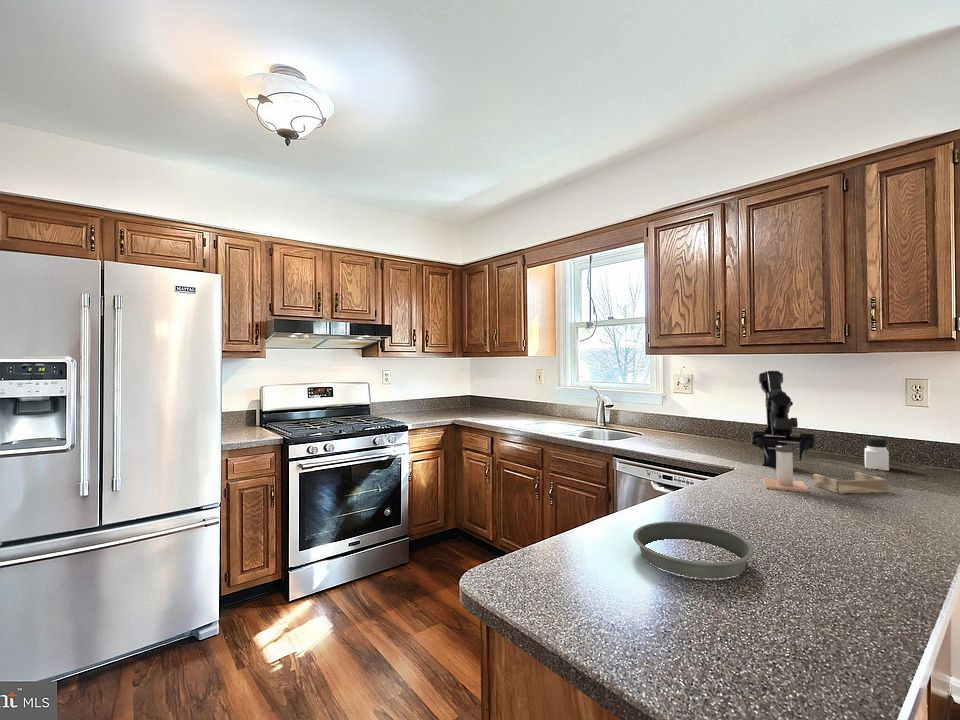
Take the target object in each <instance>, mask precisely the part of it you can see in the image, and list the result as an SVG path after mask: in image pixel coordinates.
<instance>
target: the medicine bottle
mask: <svg viewBox="0 0 960 720" xmlns="http://www.w3.org/2000/svg"><path fill="white" fill-rule="evenodd" d="M887 445H888V444H887V440H886V439H885V438H883V437H875V436H874V437H873V436H871V437H867V438H866V447H865V448H864V467H865V469H866V468H868V470H876V469H878V471H886V472H887V471H890V469H891V468H890V452H889V450H888V447H887Z"/></svg>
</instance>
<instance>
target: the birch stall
mask: <svg viewBox="0 0 960 720" xmlns="http://www.w3.org/2000/svg"><path fill="white" fill-rule="evenodd" d="M812 485H815V486H814V487H816V486H817V488H819V487H821V488H820V489H822V488H824V489H823V490H825V489H827V490H826V491H828V490H830V491H829V492H831V491H833V492H832V493H834V492H836V493H835V494H838V493H839V494H838V495H846V494H845V493H855V494H868V493H869V494H871V493H870V492H874V493H887V492H889V490H888V488H889V487H888V479H887V478H882V477H879V476H875V475H871V474H867V473H863V472H859V471H854V479H853V480H852V479H850V480H838V479H835V478H832V477H828V476H824V475H821V474H818V473H813V474H812Z"/></svg>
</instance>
